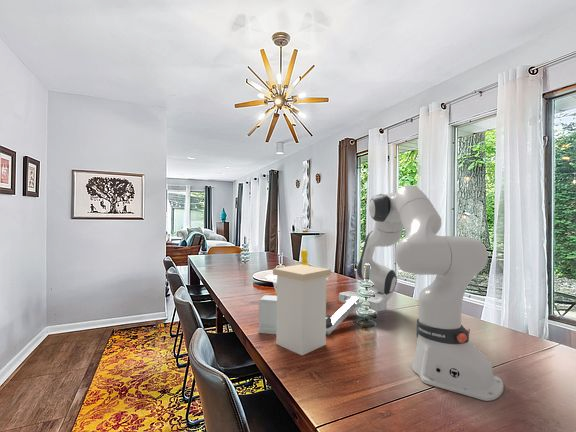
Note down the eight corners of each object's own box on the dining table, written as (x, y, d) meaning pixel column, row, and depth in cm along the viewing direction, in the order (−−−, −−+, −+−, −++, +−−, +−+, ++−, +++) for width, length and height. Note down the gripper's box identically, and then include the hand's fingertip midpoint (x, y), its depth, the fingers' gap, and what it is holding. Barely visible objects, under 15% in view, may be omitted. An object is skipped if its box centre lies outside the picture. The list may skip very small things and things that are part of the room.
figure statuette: (319, 286, 194) (319, 251, 194) (308, 288, 191) (308, 251, 190) (305, 281, 210) (305, 248, 210) (294, 282, 207) (295, 248, 206)
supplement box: (277, 334, 117) (277, 300, 117) (258, 333, 118) (258, 299, 118) (281, 327, 124) (282, 295, 124) (263, 326, 126) (264, 294, 125)
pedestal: (329, 344, 108) (330, 269, 108) (302, 357, 99) (303, 274, 98) (300, 333, 118) (300, 264, 118) (272, 344, 108) (273, 268, 108)
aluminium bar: (360, 303, 132) (358, 291, 130) (329, 334, 117) (326, 322, 116) (353, 301, 134) (350, 290, 133) (322, 332, 120) (319, 319, 118)
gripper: (349, 286, 147) (330, 291, 137) (390, 295, 132) (372, 301, 123) (348, 300, 147) (330, 306, 137) (389, 310, 132) (372, 317, 123)
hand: (350, 304), depth 130 cm, fingers closed on aluminium bar, 3 cm apart
